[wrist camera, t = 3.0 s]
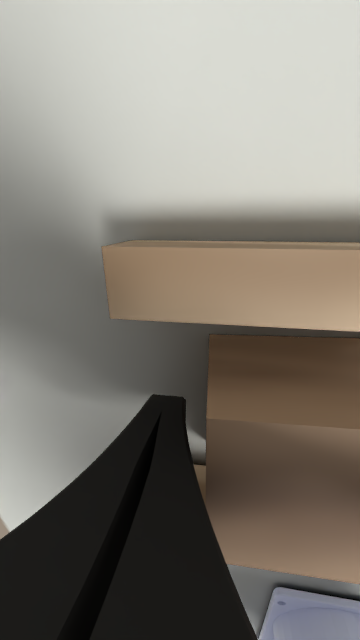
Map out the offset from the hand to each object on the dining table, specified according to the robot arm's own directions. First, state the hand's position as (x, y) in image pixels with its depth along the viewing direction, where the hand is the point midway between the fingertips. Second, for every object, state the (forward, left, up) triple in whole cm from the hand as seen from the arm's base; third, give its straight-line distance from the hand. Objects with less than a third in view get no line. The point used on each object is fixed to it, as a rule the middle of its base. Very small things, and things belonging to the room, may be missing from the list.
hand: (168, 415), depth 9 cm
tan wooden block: (0, -5, -2) cm, 5 cm away
